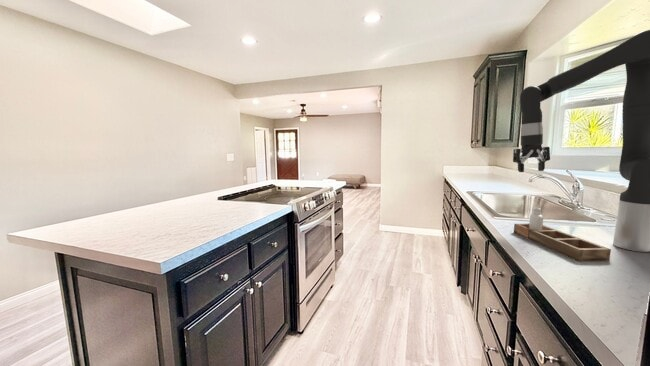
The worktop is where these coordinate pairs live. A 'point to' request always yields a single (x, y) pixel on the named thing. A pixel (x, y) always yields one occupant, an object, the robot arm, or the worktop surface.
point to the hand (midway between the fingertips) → (531, 171)
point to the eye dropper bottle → (536, 219)
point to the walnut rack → (564, 243)
